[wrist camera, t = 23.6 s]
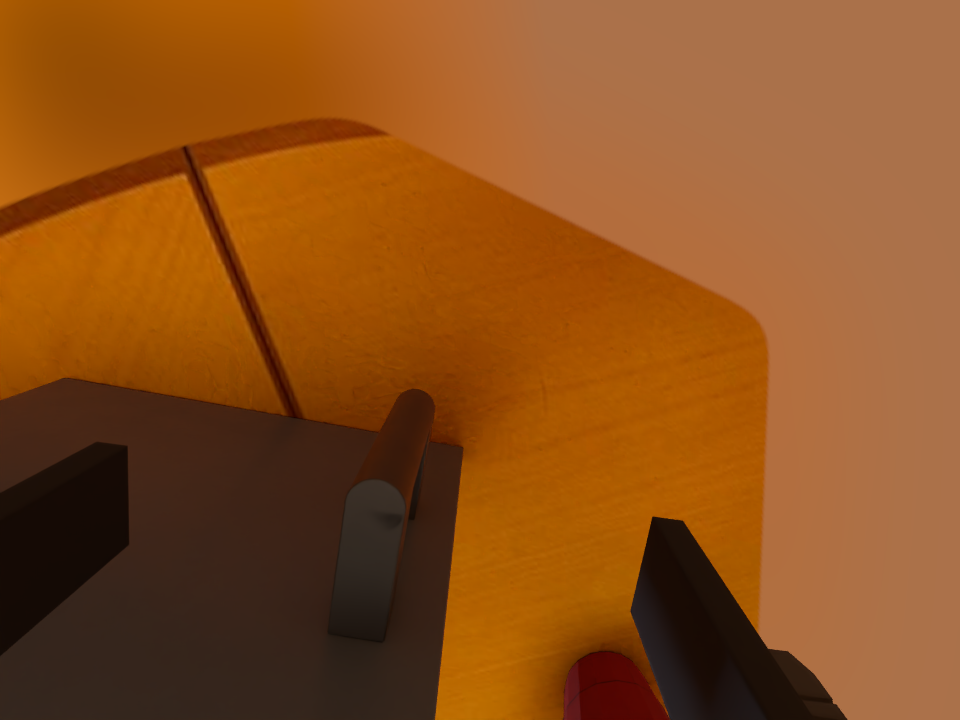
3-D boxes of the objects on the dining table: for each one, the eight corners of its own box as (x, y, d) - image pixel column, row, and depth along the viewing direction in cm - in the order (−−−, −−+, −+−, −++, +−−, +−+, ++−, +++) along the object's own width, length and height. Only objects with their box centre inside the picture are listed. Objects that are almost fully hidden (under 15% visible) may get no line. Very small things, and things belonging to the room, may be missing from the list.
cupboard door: (64, 286, 34) (-1199, 455, 8) (479, 361, 35) (461, 719, 9) (64, 394, 36) (-992, 807, 10) (460, 463, 36) (400, 1003, 11)
